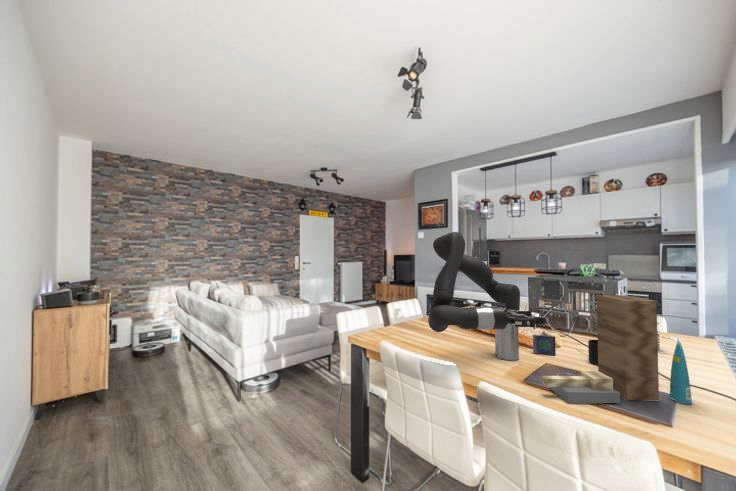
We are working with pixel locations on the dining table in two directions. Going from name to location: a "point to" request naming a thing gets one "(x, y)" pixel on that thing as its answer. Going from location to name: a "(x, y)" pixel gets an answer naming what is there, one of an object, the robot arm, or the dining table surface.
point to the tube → (680, 377)
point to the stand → (629, 345)
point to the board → (586, 395)
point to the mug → (593, 351)
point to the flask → (544, 344)
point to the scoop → (580, 381)
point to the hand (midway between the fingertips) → (537, 317)
